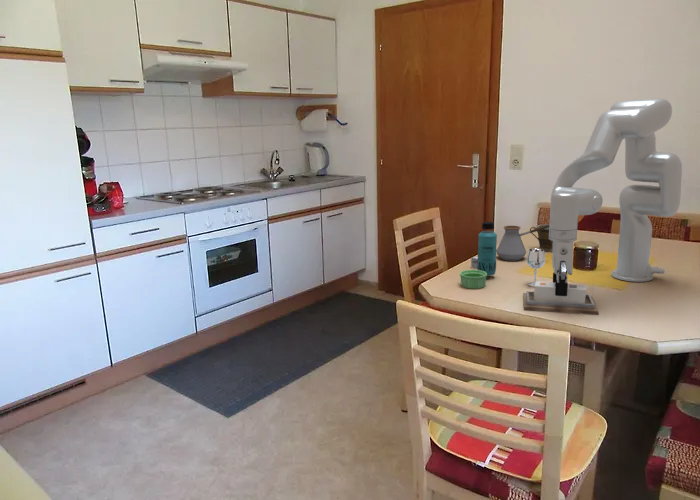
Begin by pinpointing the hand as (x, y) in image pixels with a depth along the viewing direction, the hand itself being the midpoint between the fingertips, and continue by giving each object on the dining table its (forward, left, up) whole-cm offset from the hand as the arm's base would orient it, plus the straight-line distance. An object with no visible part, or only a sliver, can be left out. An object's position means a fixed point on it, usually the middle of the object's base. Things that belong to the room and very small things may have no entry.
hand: (559, 290), depth 154 cm
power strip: (0, 0, -4) cm, 4 cm away
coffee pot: (+9, -51, -5) cm, 52 cm away
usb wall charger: (+24, -38, -5) cm, 46 cm away
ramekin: (+26, -15, -5) cm, 30 cm away
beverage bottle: (+22, -25, -5) cm, 34 cm away
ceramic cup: (0, -69, -5) cm, 69 cm away
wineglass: (+6, -19, -5) cm, 20 cm away
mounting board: (0, 0, -4) cm, 4 cm away
